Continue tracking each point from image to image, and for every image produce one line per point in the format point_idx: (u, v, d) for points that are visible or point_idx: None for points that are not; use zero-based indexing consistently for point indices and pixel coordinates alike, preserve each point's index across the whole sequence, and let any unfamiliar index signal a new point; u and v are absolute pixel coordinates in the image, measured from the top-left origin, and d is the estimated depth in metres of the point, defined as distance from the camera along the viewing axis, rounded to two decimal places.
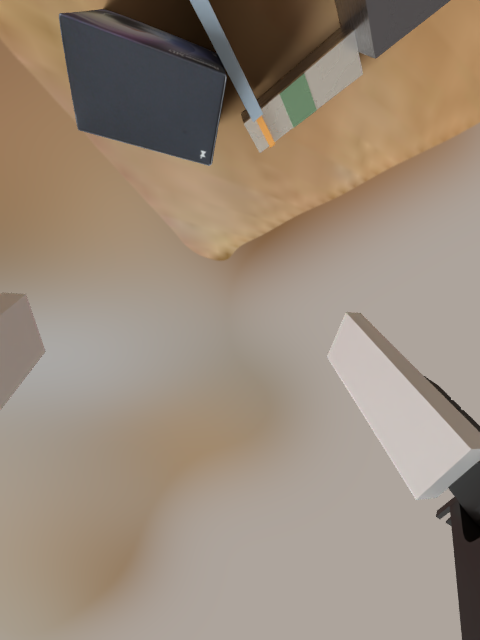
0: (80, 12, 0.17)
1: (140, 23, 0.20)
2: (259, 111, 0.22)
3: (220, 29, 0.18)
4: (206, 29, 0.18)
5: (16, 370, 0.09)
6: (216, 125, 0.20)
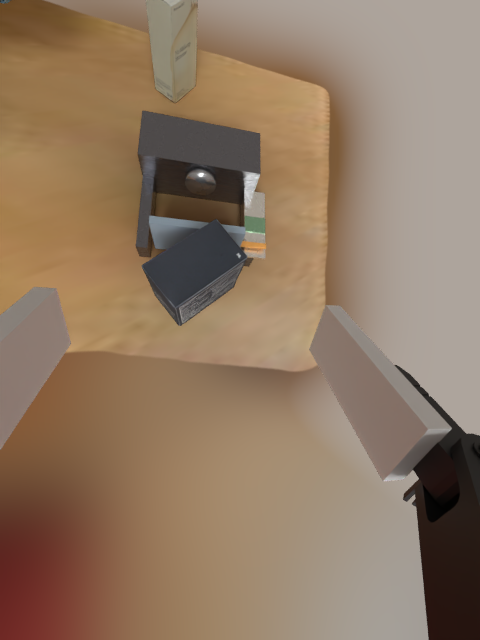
0: None
1: None
2: (243, 228, 0.33)
3: (200, 222, 0.32)
4: (195, 227, 0.32)
5: (48, 359, 0.10)
6: (231, 238, 0.30)
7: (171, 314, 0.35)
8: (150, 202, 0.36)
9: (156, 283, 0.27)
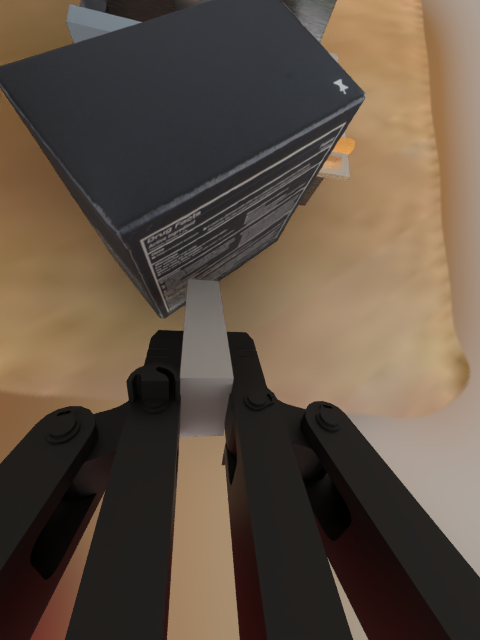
0: None
1: None
2: None
3: None
4: None
5: None
6: (314, 38, 0.09)
7: (141, 290, 0.15)
8: None
9: (46, 137, 0.07)
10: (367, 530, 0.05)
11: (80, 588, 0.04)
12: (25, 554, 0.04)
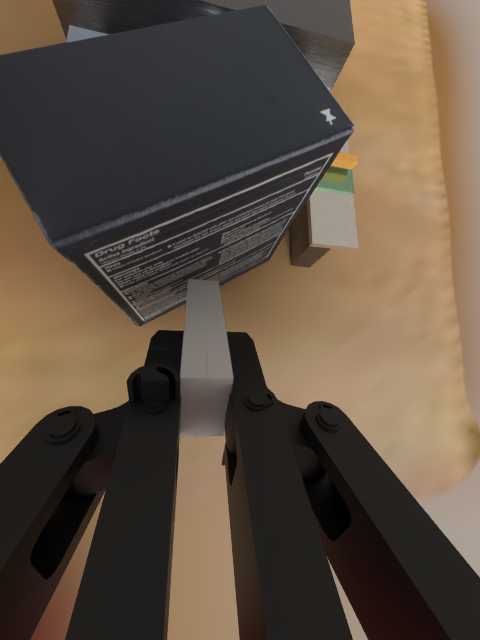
0: None
1: None
2: None
3: None
4: None
5: None
6: (308, 64, 0.09)
7: None
8: None
9: None
10: (367, 530, 0.05)
11: (80, 588, 0.04)
12: (25, 554, 0.04)
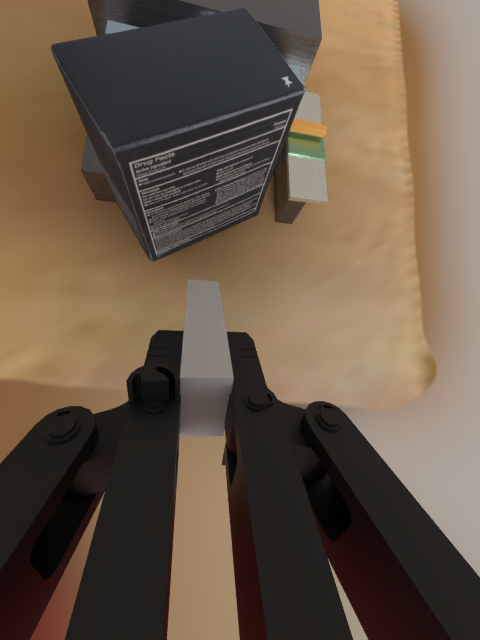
0: None
1: None
2: (295, 67, 0.17)
3: None
4: None
5: None
6: (274, 47, 0.13)
7: (137, 233, 0.19)
8: None
9: (77, 89, 0.11)
10: (367, 530, 0.05)
11: (80, 588, 0.04)
12: (25, 554, 0.04)
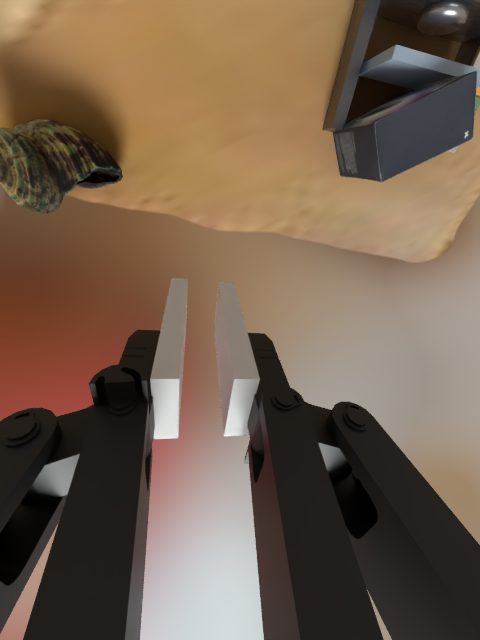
0: (365, 122, 0.28)
1: (371, 111, 0.31)
2: None
3: (448, 61, 0.26)
4: (439, 70, 0.27)
5: None
6: (474, 107, 0.26)
7: (343, 164, 0.36)
8: (364, 52, 0.28)
9: (378, 149, 0.27)
10: (394, 528, 0.05)
11: (36, 601, 0.03)
12: None
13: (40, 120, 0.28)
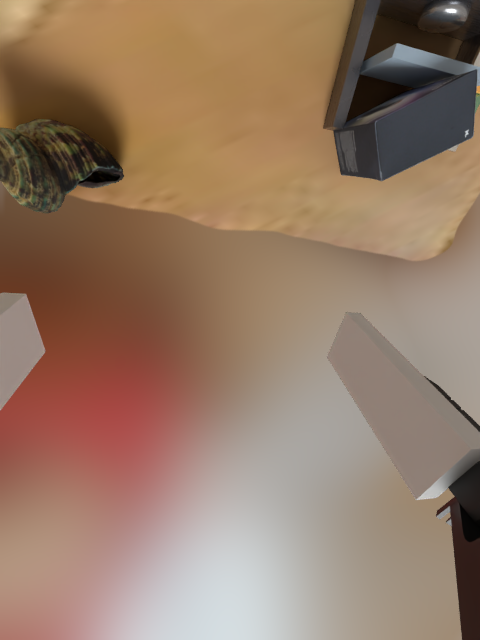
0: (365, 121, 0.28)
1: (371, 110, 0.31)
2: None
3: (448, 59, 0.26)
4: (439, 69, 0.27)
5: (16, 370, 0.09)
6: (474, 105, 0.26)
7: (344, 163, 0.36)
8: (364, 50, 0.28)
9: (378, 148, 0.27)
10: None
11: None
12: None
13: (41, 120, 0.28)
